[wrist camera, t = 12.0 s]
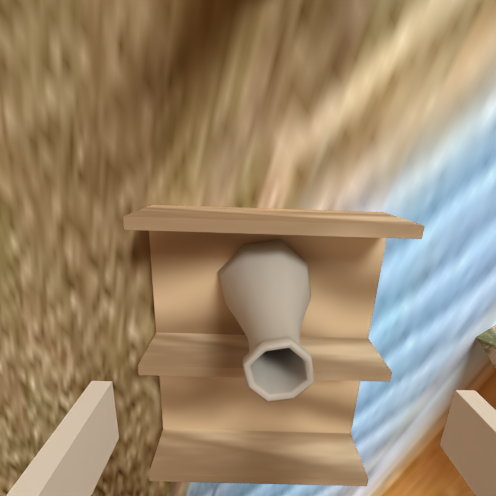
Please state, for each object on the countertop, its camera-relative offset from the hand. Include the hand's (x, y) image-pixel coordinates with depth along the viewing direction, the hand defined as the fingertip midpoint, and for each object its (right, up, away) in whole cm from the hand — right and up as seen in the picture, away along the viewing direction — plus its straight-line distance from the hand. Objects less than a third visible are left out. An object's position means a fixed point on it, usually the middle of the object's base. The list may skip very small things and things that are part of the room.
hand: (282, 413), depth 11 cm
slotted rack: (0, -1, +14) cm, 14 cm away
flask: (0, +4, +11) cm, 12 cm away
